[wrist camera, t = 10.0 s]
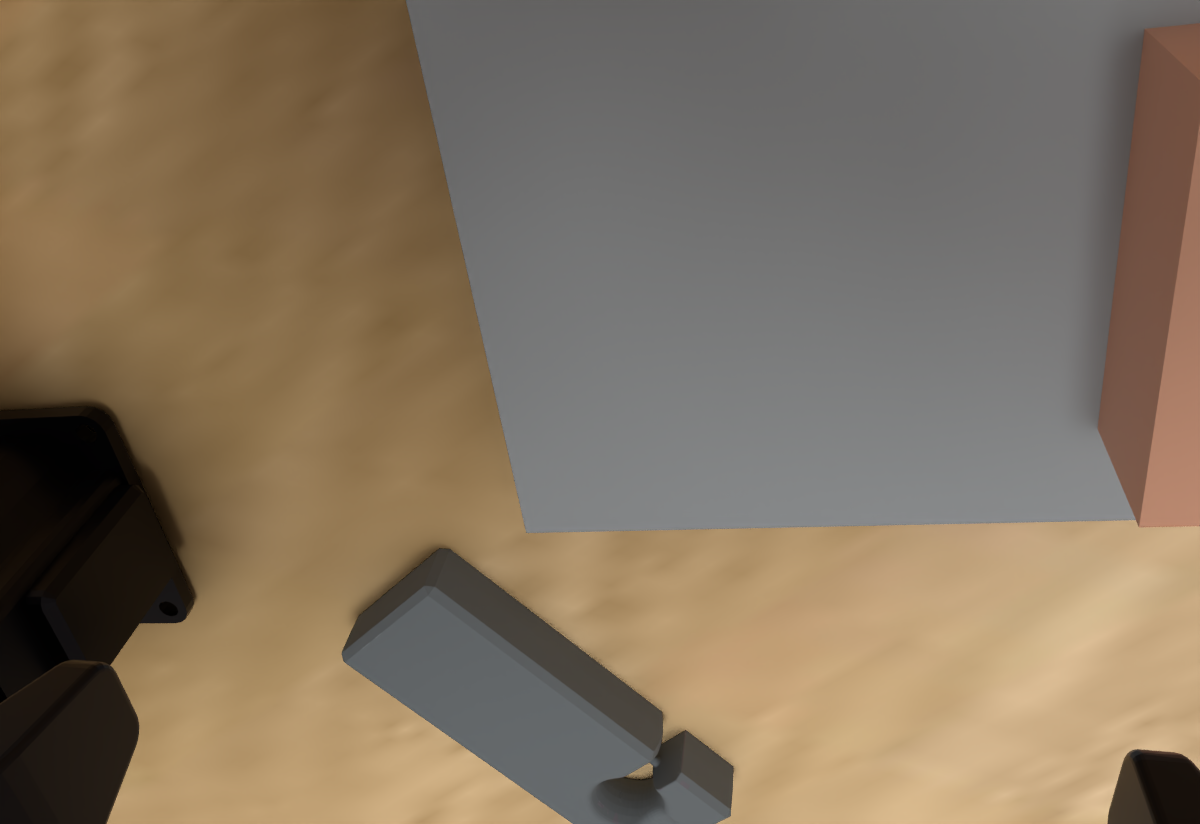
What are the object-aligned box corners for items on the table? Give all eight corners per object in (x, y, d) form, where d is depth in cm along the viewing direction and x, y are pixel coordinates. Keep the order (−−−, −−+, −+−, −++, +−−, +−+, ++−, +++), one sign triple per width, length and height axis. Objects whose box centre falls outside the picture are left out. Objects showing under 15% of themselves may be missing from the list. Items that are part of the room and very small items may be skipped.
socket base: (536, 500, 25) (497, 627, 22) (419, -46, 19) (336, 11, 16) (1476, 475, 22) (1607, 623, 18) (1715, -215, 15) (1985, -190, 12)
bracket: (448, 532, 27) (425, 587, 25) (740, 757, 30) (736, 819, 28) (359, 606, 29) (332, 662, 27) (642, 811, 32) (633, 872, 30)
